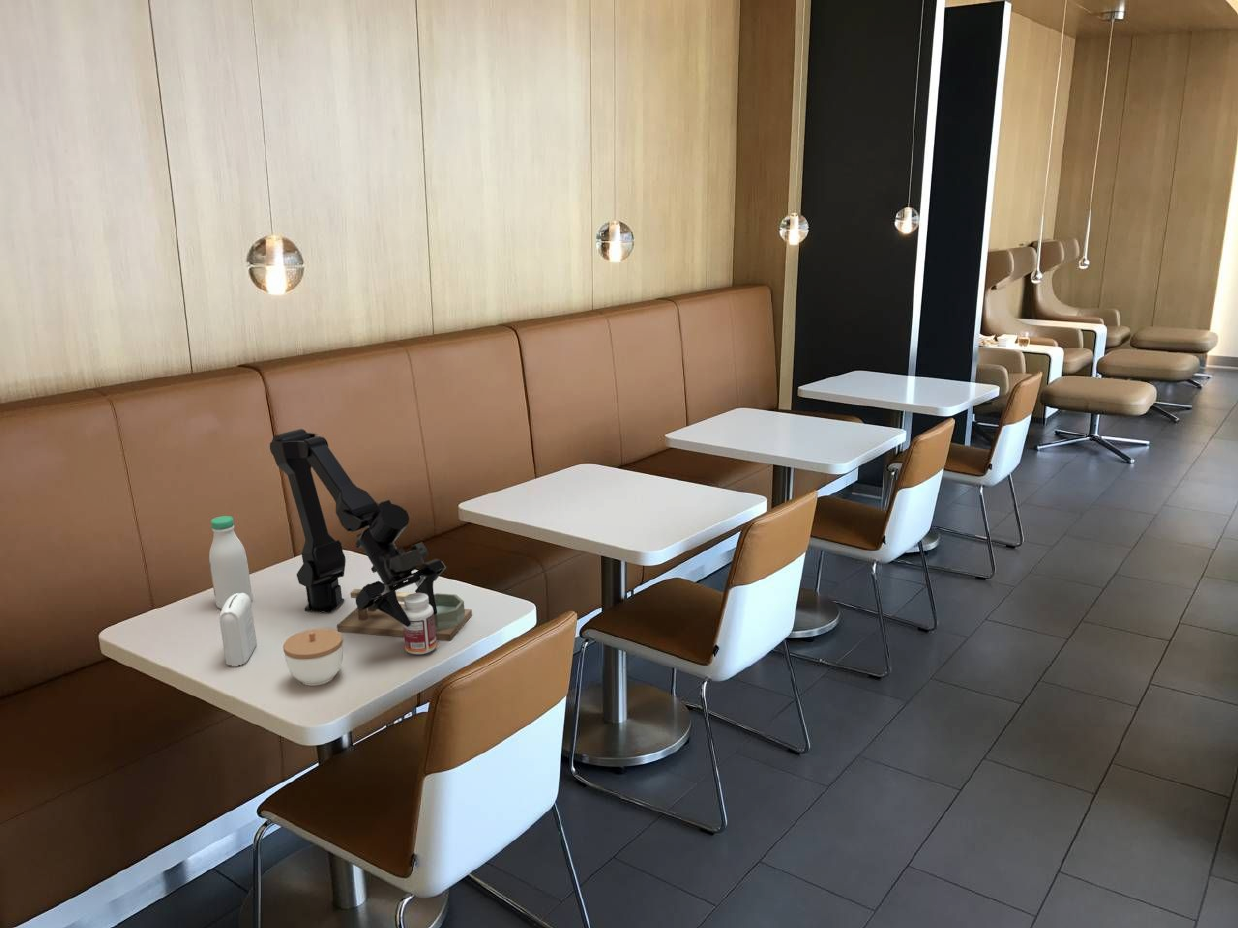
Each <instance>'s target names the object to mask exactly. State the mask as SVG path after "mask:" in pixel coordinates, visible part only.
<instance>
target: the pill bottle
mask: <svg viewBox="0 0 1238 928" xmlns="http://www.w3.org/2000/svg"><path fill="white" fill-rule="evenodd" d="M412 593H413V594H409V595H407V596H406V597H405V598H404V602H403V603H404V604H405V608H404V609H403V610H404V612H405V613H406V615H407V617H408V619H409V621H410V623H411V625H410V626H409V627H407V626H405V625H404V624H403V630H404V637H403V638H404V640H403V641H404V647H405V648H404V649H405V650H406V652H408V653H409V654H411V655H425V654H428V653H431V652H432V651H434V650H435V649H436V647H437V644H438V643H437V640H436V631H435V621H434V611H433V607H432V606H431V605H430V604H428V603H429V599H428V595H427V594H424V593H416V592H412Z"/></svg>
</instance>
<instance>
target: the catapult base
mask: <svg viewBox="0 0 1238 928" xmlns="http://www.w3.org/2000/svg"><path fill="white" fill-rule="evenodd" d="M369 584H370V583H366V585H369ZM358 594H359V592H358V593H356V596H357V595H358ZM399 604H400V605H401V607H402V609H404V608H405V604H403V603H399ZM374 605H375V604H373V606H374ZM373 606H372V607H369V608H367V609H364V610H362V611H360V610H359V608H358V606H357V605H356V608H354V609H353V611H352V612H350V613H349V614H347V616H345V618H343V619H342V620H341V621H340V622H338V624H337V626H336V628H337V632H339V633H341V632H342V633H353V634H366V635H379V636H389V637H401V638H402V637H403V638H404V630H403V624H402V623H401V622H399V621H398V620H396V619H395V618H393V617H391V616H390V615H388V614H386V613H384V612H382V611H381V610H379V609H375V610H374V609H373ZM464 609H465V618H464V619H463V620H462V621H461V623H460V624H459V625H458V626H455V627H452V628H448V629H444V630H441V631H436V641H437V640H439V641H448V642H449V641H450V642H451V641H452V640H453V639H454V638H455V636H457V634H458V633H459V631H460V630H461V629H462V628H463V627H464V625H466V624H467V622H468V620H470V618H471V617H472V616H473V609H471V608H464ZM462 626H463V627H462Z"/></svg>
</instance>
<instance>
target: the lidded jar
mask: <svg viewBox="0 0 1238 928" xmlns="http://www.w3.org/2000/svg"><path fill="white" fill-rule="evenodd" d="M343 642H344V639H343V635H342V634H341V632H339V631H338V630H334V629H330V628H314V629H308V630H304V631H300V632H298V633H295V634H293V635H292V636H290V637H288V638H287V639H285V641H284V643H283V645H282V646H283V647H282V649H283V652H284V658H285V662H286V665H287V668H288V670H289V673H290V674H291V675H292V677H294V679H296V680H297V681H298V682H300V683H301V682H302V683H303V684H302V683H301V684H302V685H304V684H305V686H307V685H308V687H315V686H316V687H317V686H322V685H324V684H327V683H329V682H331V681H332V680H333V679H334V678H335V676H336V674H338V672H339V670H340V669H341V667H342V665H343V661H344V645H343Z"/></svg>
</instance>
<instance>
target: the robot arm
mask: <svg viewBox="0 0 1238 928" xmlns="http://www.w3.org/2000/svg"><path fill="white" fill-rule="evenodd" d="M269 450H270V453H271V455H272V456H273V459H274V461H275V464H276V466H277V467H278V468H279V469H281V470H282V472H283V473H285V474H286V475H287V477H288V481H289V484H290V489H291V492H292V496H293V499H294V503H295V506H296V510H297V515H298V518H299V521H300V525H301V528H302V532H303V536H304V544H303V546H302V547H303V548H302V552H301V558H302V565H301V566H300V568H299V570H298V571H297V573H296V578H297V581H298V583H299V585H301V586H304V587H305V591H306V598H307V606H305V607H304V611H306V612H316V613H317V612H318V613H333V612H334V611H335V610H336V609H337V608H338V607H340V606H341V605H342V604H343V603H344V602H345V598H343V593H342V588H341V587H342V586H341V584H340V582H339V578H343V577H345V571H346V570H345V569H346V559H347V558H346V556H345V553H344V550H343V546H342V543H341V541H340V540H339V539H337V540H336V539H335V538H334V537H333V536H331V535H330V533H329V531H328V527H327V523H326V520H325V516H324V513H323V508H322V505H321V502H320V497H319V493H318V491H317V490H318V489H317V487H316V486H317V485H316V483H315V480H314V477H313V473H312V469H313V471H314V472H315V474H316V475H317V476H318V478H319V480H320V481H321V482H322V484H323V485H324V487H325V488H326V490H327V492H328V493H329V494H330V496H331V497H332V499H333V500H334V502H335V514H336V517H337V519H338V520H339V523H340V525H341V526H342V527H343V528H344V529H345V530H346V531H347V532H353V533H354V532H356V531H359V530H362V529H364V530H363V532H362V533H358V534H356V542H355V548H356V549H361V548H362V550H363V551H364V552H365V554H366V556H367V558H368V559H369V561H370V563H371V564H372V567H370V568H371V569H370V570H371V572H372V573H373V574H374V573H377V574H378V576H379V578H380V580H381V581H380V580H376V581H375V582H372V583H368V584H369V585H367V584H365V585H363V587H362V588H361V589H362V590H361V591H360V592H359V594H358V595H357V596H356V598H354V599H355V605H356V607H357V606H358V608H359V610H360V611H362V610H364V609H367V608H369V607H372V606H373V604H375V605H374V606H373V609H374V610H375V609H379V610H381V611H382V612H384V613H386V614H388V615H390V616H391V617H393V618H395V619H396V620H398V621H399V622H401V623H402V624H404V625H405V626H407V627H409V626H410V625H411V623H410V621H409V619H408V617H407V615H406V613H405V612H404V610H403V609H402V607H401V605H400V604H401V603H399V601H398V600H397V597H396V592H397V590H400V589H403V588H406V587H407V586H410V585H413V584H415V585H416V587H417V588H416V589H415V591H414V593H424V594H427V595H428V599H429V603H428V604H430V605H431V606H432V607H433V611H434V615H436V614H437V608H436V603H435V597H434V594H435V593H434V582H435V581H437V580H438V578H439V577H440V576H441V575H442V573H444V571H445V570H446V569H447V566H446V565H445V563H444V562H443V561H442V560H441V559H439V558H436V557H435V558H434V559H431V560H429V561H426V562H425V561H424V559H425V558H428V557H429V552H428V549H427V547H426V546H425V545H424V543H423V542H422V541H421V542H419V543H416V544H413V545H411V547H410V551H407V552H405V550H404V549H403V548H402V547H400V548H397V546H396V544H395V541H396V540H397V539H398V538H399V537H400V536H401V534H402V533H403V532H404V530H405V529H406V527H407V526H408V524H409V523H410V515H409V513H408V511H407V510H406V509H405V508H403V507H401V506H400V505H398V504H395V503H394V504H393V503H392V502H391V500H390V499H387V500H383V501H381V502H380V503H378V502H377V501H376V500H375V499H374V497H373V496H372V495H371V494H370V493H369V492H367V491H366V490H364V489H362V488H360V487H357V485H356V484H355V483H354V482H353V480H352V479H351V478H350V476H349V474H348V473H347V472H346V471H345V469H344V468H343V466H342V464H340V462H339V460H338V459H337V457H336V456H335V455H334V453H333V452H332V450H331V449H330V448H329V443H328V441H327V439H326V438H325V437H324V436H320V435H318V433H315V432H314V433H313V432H307V431H306V430H305V429H303V428H299V429H296V430H295V429H294V430H290V431H286V432H283V433H278V434H275V435H274V436H273V437H272V441H270V443H269ZM365 528H366V529H365ZM417 566H420V567H419V568H418V570H417V571H415V570H416V569H417ZM413 571H415V572H413Z"/></svg>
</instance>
